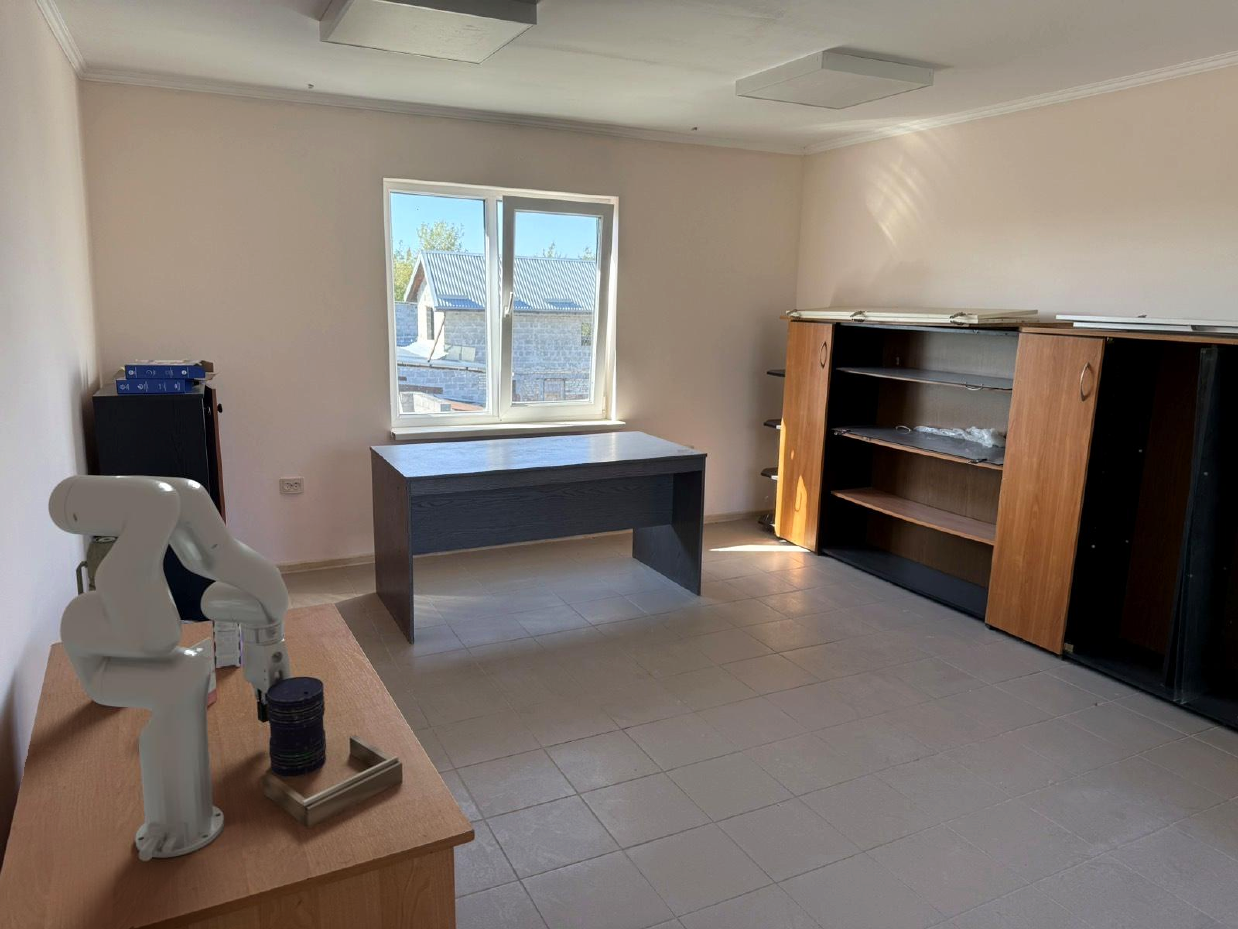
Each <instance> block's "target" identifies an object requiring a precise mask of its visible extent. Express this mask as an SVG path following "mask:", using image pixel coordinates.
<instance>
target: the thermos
mask: <svg viewBox="0 0 1238 929" xmlns="http://www.w3.org/2000/svg"><path fill="white" fill-rule="evenodd" d="M117 538H118V537H113V536H97V537H95V538H94V539H93V540H89V541H90V542H89V544H88V546H87V548H88V549H87V550H86V555H85V558H86V560H81V562H80V563H79V564H78V566H77V567H76V568H75V575H76V576H75V577H76V584H77V586H76V587H77V594H78V595H80V594H82V593H85V592H84V579H83V572H82V571H83V570H82V569H83V567H84V569H87V577H88V579H89V583H88V587H89V588H88V589H89V590H88V592H89V591H95V590H96V587H95V574H96V571H97V569H98V567H99V565H100V563H101V562H102V560H103V559H104V558H105V557H106V555H107V554H108V553H109V551H110V550H111V548H112V547H113V545H114V543H115V542H116V540H117ZM78 595H77V596H78ZM100 705H101V706H103V705H102V704H100ZM104 706H105V707H109V706H108V705H104Z"/></svg>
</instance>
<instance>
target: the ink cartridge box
mask: <svg viewBox="0 0 1238 929" xmlns="http://www.w3.org/2000/svg"><path fill="white" fill-rule="evenodd" d="M190 648H191V649H194V650H197V651H199V652H201V653H202V654H204V655H205V656H206V658H207V659H208V661H209V663H210V666H211V678H210V685H209V692H208V699H207V708H208V707H210V705H212V704H214V703H215V702H216V701H217V700H218V695H217V681H216V679H217V678H216V668H215V656H214V646H213V641H212V637H211V636H208V637H207V638H205V639H203V640H201V641H200V642H197V643H196V644H194V645H192V646H191V647H190Z"/></svg>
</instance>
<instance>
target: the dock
mask: <svg viewBox="0 0 1238 929" xmlns="http://www.w3.org/2000/svg"><path fill="white" fill-rule="evenodd" d="M349 755H350V756H353V757H354V758H356V759H357V760H359V761H361V762H362V763H364V764H366V765H367V766H369V768H368V769H366V770H364V771H361V772H359V773H357V774H355V775H353V776H351V777H349V778H347V779H345V780H344V781H341V782H339V783H337V784H334V785H333V786H331V787H328V788H326V789H323V791H320V792H318V793H316V794H314V795H312V796H310V797H308V798H306V797H304V796H303V795H301V794H300V793H299V792H297V791H295V790H294V789H292V788H291V787H290V786H289V785H287V784H286V783H285V782H283V781H282V780H281V779H279V778H278V777H276V776H275V774H274V775H273V774H272V773H271V772H266V773H265V774H263V775H262V784H263V785H262V786H263V791H262V792H263V794H264V795H265V796H266V797H268V798H269V800H272V801H273V802H274V803H276V804H277V805H278V807H281V808H282V809H283V810H285V811H286V812H287V813H289V814H290V815H291V816H292V817H294V818H295V819H296V820H298V821H299V822H300V823H302V824H303V825H304V826H305V827H307V828H308V829H311V828H314V827H315V826H317V825H319V824H321V823H322V822H323V823H324V822H325V821H327V820H329V819H330V818H332V817H335V816H336V814H337V815H338V814H340V813H342V812H344V811H346V810H348V809H350V808H352V807H354V806H355V805H354V804H356V805H358V804H360V803H362V802H364V801H366V800H367V798H368V799H369V797H370V798H372V797H374V796H375V795H378V794H379V793H381V792H383V791H385V790H387V789H389V788H391V787H393V786H394V784H395V785H396V784H399V783H401V782H402V780H403V762H402V761H400V760H399V756H398V755H395V756H391V755H390V754H388V753H386V752H384V750H381V748H380V749H379V748H378V747H376V746H374V745H373V744H371V743H370V742H368V741H366V740H365V739H363V738H361V737H359V736H358V735H357V734H354V735H352V736H350V737H349ZM388 787H389V788H388ZM361 801H362V802H361ZM359 802H360V803H359ZM357 803H358V804H357ZM353 805H354V806H353ZM351 806H352V807H351ZM349 807H350V808H349ZM347 808H348V809H347ZM345 809H346V810H345ZM341 811H342V812H341Z"/></svg>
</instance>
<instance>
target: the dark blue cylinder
mask: <svg viewBox="0 0 1238 929" xmlns="http://www.w3.org/2000/svg"><path fill="white" fill-rule="evenodd" d="M324 694H325V693H324V682H323V681H322V680H320V679H319V678H317V677H316V678H315V677H311V676H294V677H291V678H288V679H284V680H281V681H279V682H277V683H275V684H273V685H272V686H270V687H269V689H268V690H267V698H268V699H267V702H268V704H267V712H268V721H267V722H268V723H269V730H270V733H269V734H270V737H269V743H268V744H269V751H268V752H269V758H270V769H271V772H272V773H273V774H274V775H276V776H279V777H283V778H298V777H299V778H300V777H302V776H303V777H304V776H307V775H311V774H313V773H315V772H316V771H318V770H320V769H321V768H322V767H323V766H325V764H326V761H327V754H326V751H327V739H326V737H327V736H326V731H325V728H324V716H325V712H326V708H325V703H326V702H325V695H324Z"/></svg>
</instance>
